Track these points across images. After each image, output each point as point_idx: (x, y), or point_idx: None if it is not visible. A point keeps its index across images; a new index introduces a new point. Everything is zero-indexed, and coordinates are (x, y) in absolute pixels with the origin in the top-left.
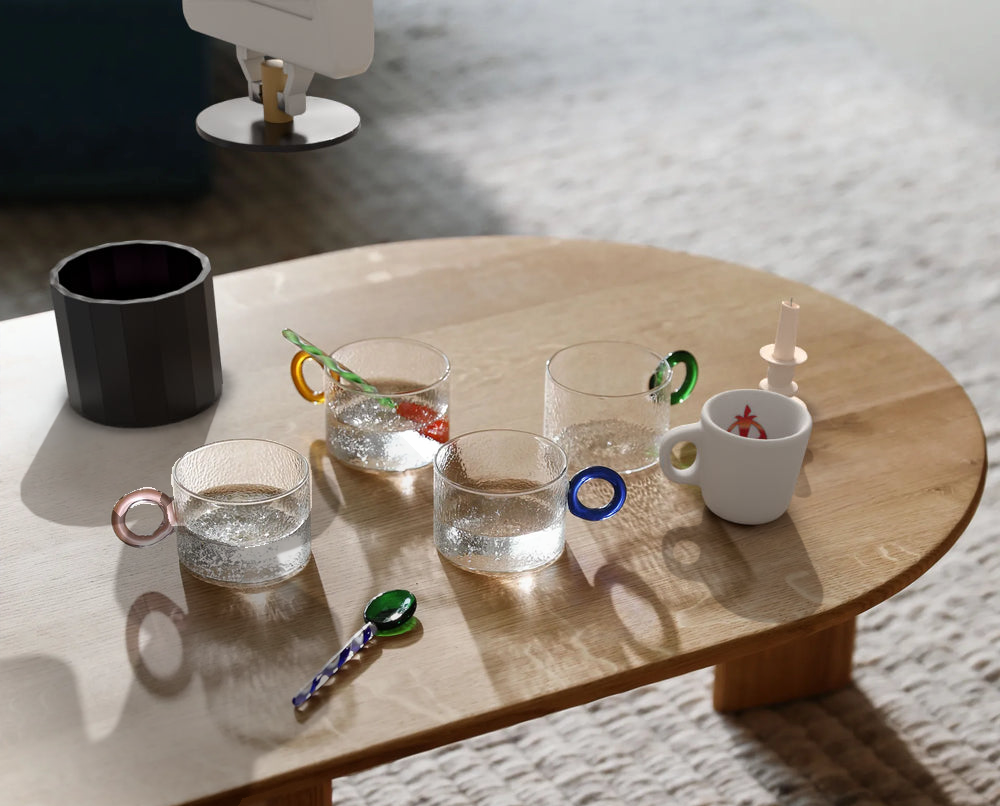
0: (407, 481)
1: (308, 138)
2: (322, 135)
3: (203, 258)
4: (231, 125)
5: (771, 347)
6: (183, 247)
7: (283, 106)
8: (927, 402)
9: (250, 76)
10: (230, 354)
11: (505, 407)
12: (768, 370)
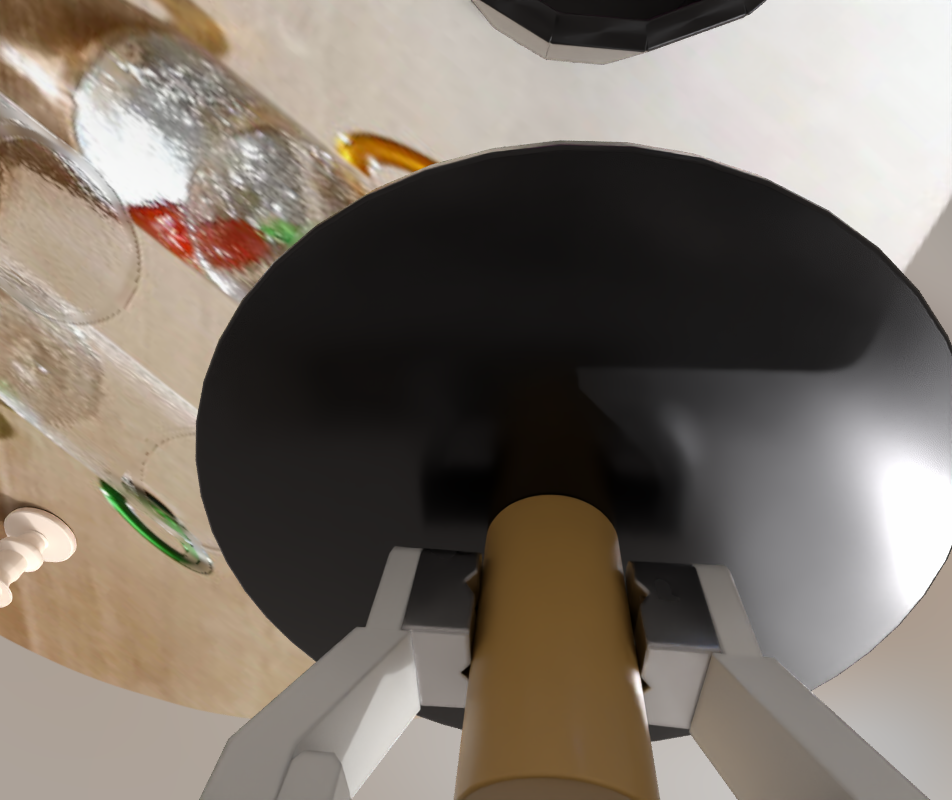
0: (41, 79)
1: (254, 475)
2: (261, 528)
3: (548, 21)
4: (637, 348)
5: (5, 592)
6: (669, 25)
7: (426, 570)
8: (10, 620)
9: (740, 684)
10: (601, 138)
11: (183, 345)
12: (3, 563)
